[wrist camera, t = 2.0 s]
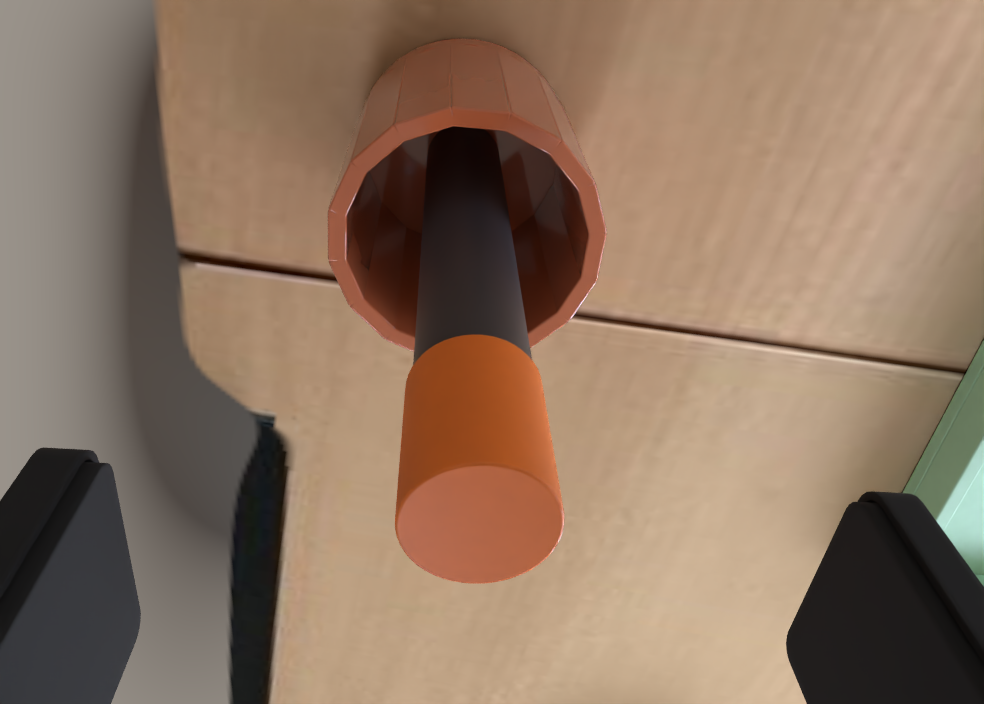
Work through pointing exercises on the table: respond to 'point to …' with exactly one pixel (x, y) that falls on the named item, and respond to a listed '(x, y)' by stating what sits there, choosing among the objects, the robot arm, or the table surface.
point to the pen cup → (402, 175)
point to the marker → (473, 386)
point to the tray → (958, 469)
